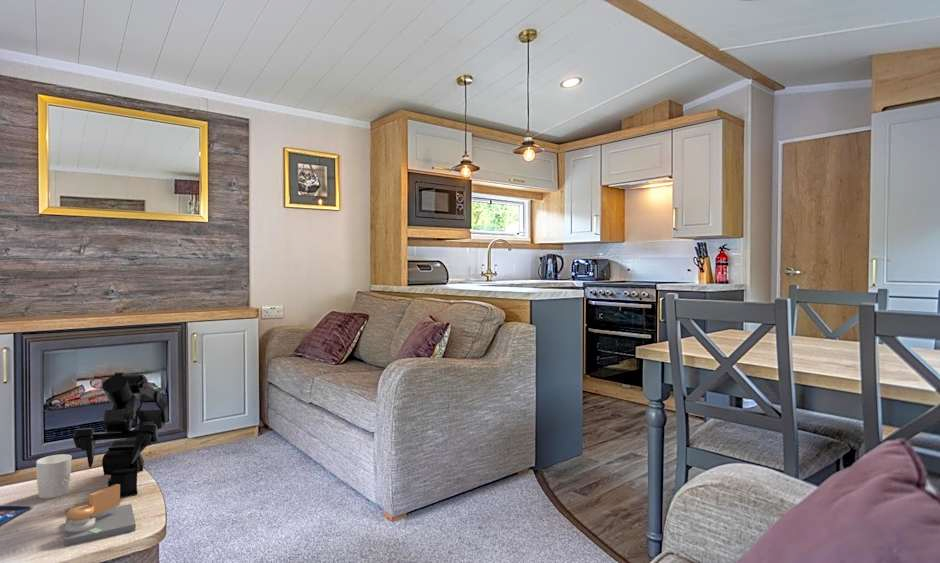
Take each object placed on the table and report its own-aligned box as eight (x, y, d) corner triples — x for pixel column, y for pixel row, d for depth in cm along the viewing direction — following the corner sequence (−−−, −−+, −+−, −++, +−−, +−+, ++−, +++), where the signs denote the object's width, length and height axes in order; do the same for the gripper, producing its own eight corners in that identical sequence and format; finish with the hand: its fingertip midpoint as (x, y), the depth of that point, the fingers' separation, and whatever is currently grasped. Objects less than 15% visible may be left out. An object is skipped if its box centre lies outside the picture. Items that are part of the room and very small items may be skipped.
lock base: (131, 509, 140) (131, 494, 140) (135, 530, 128) (136, 514, 128) (66, 522, 131) (66, 506, 131) (64, 547, 120) (65, 529, 120)
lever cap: (77, 527, 123) (77, 504, 123) (61, 523, 125) (62, 501, 125) (125, 506, 134) (125, 485, 134) (110, 502, 136) (111, 482, 136)
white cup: (31, 501, 143) (32, 465, 143) (39, 491, 150) (40, 456, 150) (67, 497, 146) (68, 461, 146) (73, 486, 153) (74, 452, 153)
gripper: (76, 398, 138) (60, 452, 127) (157, 394, 145) (149, 445, 134) (84, 421, 145) (69, 474, 134) (161, 416, 152) (153, 466, 141)
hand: (111, 464), depth 136 cm, fingers open, 9 cm apart
